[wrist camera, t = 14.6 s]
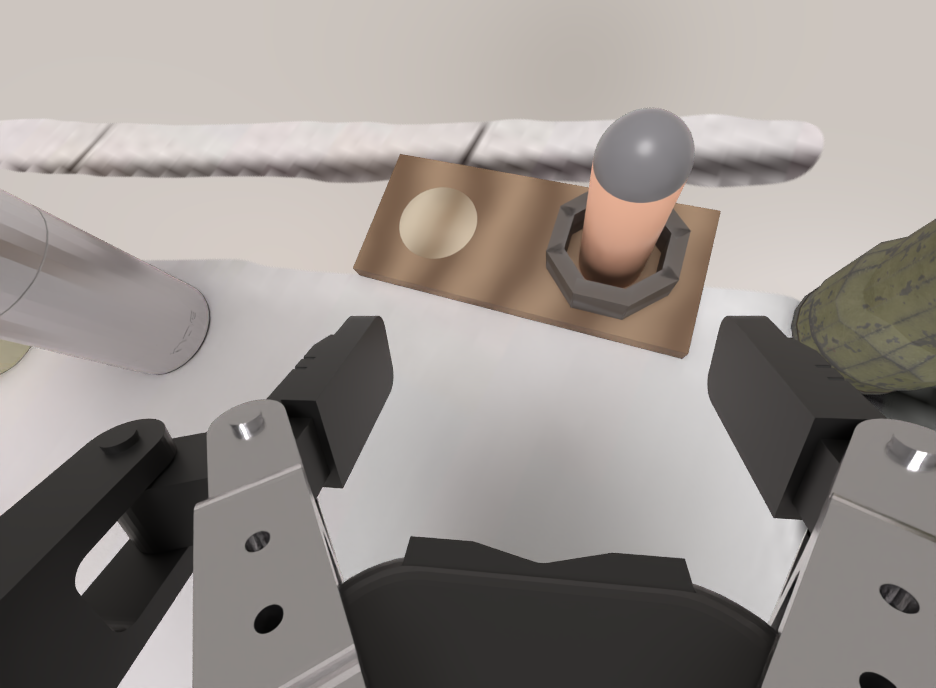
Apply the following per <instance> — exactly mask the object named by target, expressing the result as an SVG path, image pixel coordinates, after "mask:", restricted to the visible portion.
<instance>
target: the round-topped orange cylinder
mask: <svg viewBox="0 0 936 688" xmlns="http://www.w3.org/2000/svg"><path fill="white" fill-rule="evenodd" d="M694 156H695V148H694V141H693V138H692V135H691V132H690V130H689V128H688V127H687V125H686V124H685V123H684V121H683V120H681V119H680V118H679V117H678V116H677V115H675V114H673V113H671V112H669V111H667V110H664V109H659V108H643V109H638V110H634V111H632V112H629V113H627V114H625V115H624V116H622V117H620V118H619V119H617V120H616V121H615V122H614V123H613V124H611V125H610V127H609V128H608V129H607V130H606V131H605V133H604V134H603V135H602V137H601V139H600V140H599V142H598V144H597V147H596V150H595V153H594V158H593V164H592V171H591V178H590V184H589V191H588V198H587V205H586V212H585V218H584V225H583V232H582V239H581V246H580V252H579V268H580V271H581V273H582V275H583V276H584V278H585V279H586V280H589V281H593V282H597V283H602V284H606V285H611V286H615V287H619V288H625V287H627V286H629V285H631V284H632V283H633V282H635V281H636V280H637V279H638V277H639V276H640V275H641V273H642V271H643V269H644V267H645V265H646V263H647V260H648V258H649V256H650V254H651V252H652V250H653V248H654V246H655V244H656V242H657V240H658V238H659V236H660V234H661V232H662V230H663V228H664V226H665V224H666V222H667V220H668V218H669V216H670V214H671V212H672V209H673V207H674V205H675V203H676V201H677V199H678V197H679V195H680V193H681V191H682V189H683V187H684V185H685V183H686V181H687V179H688V177H689V175H690V172H691V170H692V167H693V162H694Z"/></svg>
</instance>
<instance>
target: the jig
mask: <svg viewBox="0 0 936 688" xmlns="http://www.w3.org/2000/svg"><path fill="white" fill-rule="evenodd" d="M588 191H589V188H588V187H582V186H577V185H571V184H566V183H560V182H555V181H549V180H543V179H538V178H532V177H526V176H521V175H515V174H510V173H504V172H498V171H493V170H487V169H481V168H476V167H470V166H465V165H459V164H453V163H448V162H442V161H436V160H431V159H425V158H420V157H414V156H408V155H403V154H400V156H399V158H398V161H397V163H396V165H395V168H394V170H393V173H392V175H391V178H390V180H389V182H388V185H387V187H386V190H385V192H384V195H383V197H382V199H381V202H380V204H379V207H378V209H377V211H376V214H375V216H374V219H373V221H372V223H371V226H370V228H369V231H368V233H367V235H366V238H365V241H364V243H363V245H362V248H361V250H360V252H359V255H358V257H357V260H356V262H355V264H354V267H353V269H354V270H355V271H356V272H357V273H358V274H359V275H361V276H365V277H369V278H373V279H377V280H381V281H384V282H388V283H392V284H396V285H400V286H404V287H408V288H411V289H415V290H419V291H423V292H427V293H431V294H435V295H438V296H442V297H446V298H450V299H454V300H458V301H462V302H465V303H469V304H473V305H477V306H481V307H485V308H489V309H492V310H496V311H500V312H504V313H508V314H512V315H516V316H519V317H523V318H527V319H531V320H535V321H539V322H543V323H546V324H550V325H554V326H558V327H562V328H566V329H570V330H573V331H577V332H581V333H585V334H589V335H593V336H597V337H600V338H604V339H608V340H612V341H616V342H620V343H624V344H627V345H631V346H635V347H639V348H643V349H647V350H651V351H654V352H658V353H662V354H666V355H670V356H674V357H678V358H681V359H682V358H683V357H685V356H686V355H687V354H688V352H689V348H690V343H691V339H692V335H693V330H694V326H695V322H696V317H697V313H698V308H699V304H700V300H701V295H702V291H703V286H704V282H705V278H706V273H707V269H708V265H709V260H710V256H711V251H712V247H713V242H714V238H715V234H716V229H717V225H718V221H719V216H720V211H718V210H712V209H706V208H701V207H694V206H690V205H684V204H678V203H675V205H674V207H673V209H672V212H671V214H670V216H669V218H668V220H667V222H666V224H665V226H664V228H663V230H662V232H661V234H660V236H659V238H658V240H657V242H656V244H655V246H654V248H653V250H652V252H651V254H650V256H649V258H648V260H647V263H646V265H645V267H644V269H643V271H642V273H641V275H640V276H639V277H638V279H637V280H636V281H635V282H633V283H632V284H631V285H629V286H627V287H625V288H619V287H615V286H611V285H606V284H602V283H597V282H593V281H589V280H586V279H585V278H584V276H583V275H582V273H581V271H580V268H579V252H580V246H581V239H582V232H583V225H584V218H585V212H586V205H587V198H588Z"/></svg>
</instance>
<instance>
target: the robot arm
mask: <svg viewBox="0 0 936 688" xmlns="http://www.w3.org/2000/svg"><path fill="white" fill-rule="evenodd" d="M208 323H209V310H208V306H207V302H206V301H205V299H204V297H203V295H202V294H201V293H200V292H199V291H198V290H197V289H196V288H194V287H192V286H191V285H189V284H187V283H185V282H183V281H181V280H179V279H177V278H175V277H173V276H171V275H169V274H167V273H165V272H163V271H161V270H159V269H158V268H156V267H154V266H152V265H150V264H148V263H146V262H144V261H142V260H140V259H138V258H136V257H134V256H132V255H130V254H128V253H126V252H124V251H122V250H120V249H118V248H116V247H114V246H112V245H110V244H108V243H107V242H104V241H103V240H101V239H99V238H97V237H95V236H93V235H91V234H89V233H87V232H85V231H83V230H81V229H79V228H77V227H75V226H73V225H71V224H69V223H67V222H65V221H63V220H61V219H59V218H57V217H55V216H53V215H52V214H50V213H48V212H46V211H44V210H41V209H40V208H38V207H36V206H34V205H31V204H29V203H27V202H25V201H23V200H21V199H20V198H18V197H16V196H14V195H12V194H10V193H8V192H6V191H4V190H2V189H0V339H2V340H6V341H10V342H15V343H19V344H23V345H27V346H32V347H36V348H40V349H44V350H49V351H53V352H57V353H61V354H66V355H70V356H74V357H78V358H83V359H87V360H91V361H95V362H100V363H104V364H107V365H112V366H116V367H120V368H124V369H129V370H133V371H137V372H142V373H146V374H154V375H157V374H164V373H167V372H170V371H173V370H175V369H177V368H178V367H180V366H182V365H183V364H184V363H186V362H187V361H188V360H189V359H190V358H191V357H192V356H193V355H194V354H195V353H196V351H197V350H198V349H199V347H200V345H201V344H202V342H203V340H204V337H205V335H206V332H207V329H208ZM707 384H708V394H709V398H710V401H711V403H712V405H713V406H714V408H715V410H716V412H717V414H718V416H719V418H720V419H721V421H722V423H723V425H724V427H725V429H726V431H727V432H728V434H729V436H730V438H731V440H732V442H733V444H734V445H735V447H736V449H737V451H738V453H739V455H740V456H741V458H742V460H743V462H744V464H745V466H746V468H747V469H748V471H749V473H750V475H751V477H752V479H753V481H754V482H755V484H756V486H757V488H758V490H759V492H760V494H761V495H762V497H763V499H764V501H765V503H766V505H767V507H768V508H769V510H770V512H771V514H772V516H773V518H781V519H797V520H803V521H804V523H805V525H806V526H807V530H806V532H805V534H804V537H803V539H802V541H801V543H800V546H799V548H798V551H797V553H796V556H795V558H794V561H793V563H792V565H791V568H790V570H789V573H788V575H787V578H786V580H785V583H784V585H783V588H782V590H781V593H780V595H779V598H778V600H777V603H776V605H775V607H774V610H773V612H772V615H771V617H770V619H769V622H768V624H767V623H766V622H765V621H763V620H762V619H761V618H759V617H758V616H756V615H755V614H753V613H752V612H750V611H749V610H747V609H745V608H744V607H742V606H741V605H739V604H737V603H735V602H733V601H732V600H730V599H728V598H726V597H724V596H722V595H720V594H718V593H716V592H713V591H711V590H709V589H706V588H704V587H701V586H698V585H695V584H692V581H691V578H690V574H689V571H688V568H687V565H686V561H685V559H682V558H670V557H658V556H646V555H633V554H621V553H608V554H601V555H595V556H589V557H582V558H576V559H570V560H564V561H557V562H551V563H537V562H533V561H530V560H527V559H524V558H521V557H518V556H515V555H512V554H509V553H506V552H503V551H500V550H497V549H494V548H491V547H488V546H485V545H482V544H479V543H476V542H473V541H462V540H450V539H437V538H425V537H413V536H411V537H410V540H409V544H408V547H407V550H406V554H405V557H404V558H399V559H394V560H391V561H387V562H384V563H381V564H378V565H376V566H373V567H371V568H368V569H366V570H364V571H362V572H360V573H359V574H357V575H355V576H353V577H351V578H350V579H348V580H347V581H345V582H344V580H343V577H342V574H341V571H340V567H339V564H338V561H337V558H336V555H335V552H334V549H333V545H332V542H331V539H330V536H329V533H328V530H327V527H326V523H325V520H324V517H323V514H322V511H321V508H320V505H319V502H318V499H317V496H318V495H319V493H320V491H321V489H322V487H331V488H343V487H344V485H345V483H346V481H347V479H348V477H349V475H350V473H351V471H352V469H353V467H354V465H355V463H356V461H357V459H358V457H359V455H360V453H361V451H362V449H363V447H364V445H365V443H366V441H367V439H368V437H369V435H370V433H371V431H372V428H373V426H374V424H375V422H376V420H377V418H378V416H379V414H380V412H381V410H382V408H383V406H384V404H385V402H386V400H387V398H388V396H389V394H390V392H391V389H392V385H393V366H392V361H391V356H390V351H389V345H388V340H387V335H386V330H385V325H384V322H383V319H382V318H381V317H380V316H350V317H349V318H348V319H347V320H346V321H345V323H344V324H343V325H342V326H341V327H340V329H339V330H338V331H337V332H336V333H335V335H330V336H328V337H326V338H325V339H323V340H321V341H320V342H318V343H317V344H315V345H314V346H313V347H312V348H311V349H310V350H309V351H308V353H307V354H306V355H305V356H304V359H301V360H300V362H299V363H298V364H297V365H296V366H295V369H293V370H292V371H291V372H290V373H289V374H288V375H287V376H286V378H285V379H284V380H283V381H282V382H281V383H280V384H279V385H278V387H277V388H276V389H275V390H274V391H273V392H272V393H271V395H270V396H269V397H268V398H267V399H266V400H255V401H250V402H246V403H243V404H241V405H238V406H236V407H233V408H231V409H230V410H228V411H226V412H225V413H223V414H222V415H220V416H219V417H218V418H217V419H216V420H215V421H214V422H213V423H212V424H211V425H210V427H209V429H208V431H207V432H206V433H200V434H195V435H189V436H184V437H178V438H173V439H172V438H171V436H170V434H169V432H168V430H167V428H166V427H165V425H164V423H163V422H161V421H159V420H156V419H140V420H135V421H131V422H127V423H124V424H121V425H119V426H116V427H114V428H112V429H110V430H107V431H106V432H104V433H102V434H100V435H99V436H97V437H96V438H94V439H93V440H91V441H90V442H89V443H87V444H86V445H85V446H84V447H83V448H81V449H80V450H79V451H78V452H77V453H75V454H74V455H73V456H72V457H71V458H70V459H68V460H67V461H66V462H65V463H64V464H62V465H61V466H60V467H59V468H58V469H56V470H55V471H54V472H53V473H52V474H50V475H49V476H48V477H47V478H46V479H44V480H43V481H42V482H41V483H40V484H38V485H37V486H36V487H35V488H34V489H33V490H31V491H30V492H29V493H28V494H27V495H25V496H24V497H23V498H22V499H21V500H19V501H18V502H17V503H16V504H15V505H13V506H12V507H11V508H10V509H9V510H7V511H6V512H5V513H4V514H3V515H1V516H0V688H117V687H118V685H119V684H120V682H121V681H122V679H123V678H124V676H125V674H126V673H127V671H128V670H129V668H130V667H131V665H132V664H133V662H134V661H135V659H136V658H137V656H138V655H139V653H140V652H141V650H142V649H143V647H144V646H145V644H146V643H147V641H148V639H149V638H150V636H151V635H152V633H153V632H154V630H155V629H156V627H157V626H158V624H159V623H160V621H161V620H162V618H163V617H164V615H165V614H166V612H167V611H168V609H169V608H170V606H171V604H172V603H173V601H174V600H175V598H176V597H177V595H178V594H179V592H180V591H181V589H182V588H183V586H184V585H185V583H186V582H187V580H188V579H189V577H190V576H191V574H192V573H193V686H192V688H936V431H933V430H931V429H928V428H926V427H923V426H920V425H916V424H913V423H909V422H905V421H900V420H893V419H887V418H886V417H885V416H884V415H883V414H882V413H881V412H880V411H879V410H878V409H877V408H876V407H874V406H873V405H872V404H871V403H870V402H869V401H868V400H867V399H866V398H865V397H864V396H863V395H862V394H861V393H860V392H859V391H858V390H857V389H856V388H855V387H854V386H853V385H852V384H850V383H849V382H848V381H844V377H843V376H842V375H841V374H840V373H839V372H838V371H837V370H836V369H835V368H831V364H830V363H829V362H827V361H826V360H825V359H824V358H823V357H822V356H821V355H820V354H819V353H818V352H817V351H816V350H814V349H812V348H810V347H809V346H807V345H805V344H803V343H801V342H799V341H797V340H795V339H793V338H787V337H786V336H785V335H784V334H783V332H782V331H781V330H780V329H779V328H778V327H777V326H776V325H775V324H774V323H773V322H772V321H771V320H770V319H769V318H768V317H766V316H726V317H725V318H724V319H723V320H722V322H721V325H720V328H719V332H718V336H717V340H716V344H715V349H714V353H713V357H712V361H711V365H710V369H709V374H708V383H707ZM117 521H118V522H119V524H120V525H121V527H122V528H123V529H124V531H125V532H126V534H127V535H128V536H129V538H130V539H129V540H128V541H127V543H126V544H125V545H124V546H123V547H122V549H121V550H120V551H119V552H118V553H117V554H116V556H115V557H114V558H113V559H112V560H111V562H110V563H109V564H108V565H107V566H106V567H105V569H104V570H103V571H102V572H101V573H100V575H99V576H98V577H97V578H96V579H95V580H94V582H93V583H92V584H91V585H90V586H89V588H88V589H87V590H86V591H85V592H84V593H83V595H82V596H81V595H80V594H79V593H78V591H77V590H76V587H75V576H76V572H77V569H78V567H79V565H80V563H81V561H82V560H83V558H84V557H85V556H86V555H87V554H88V553H89V551H90V550H91V549H92V548H93V547H94V546H95V545H96V544H97V543H98V542H99V540H100V539H101V538H102V537H103V536H104V535H105V534H106V533H107V532H108V531H109V529H110V528H111V527H112V526H113V525H114V524H115V523H116V522H117Z"/></svg>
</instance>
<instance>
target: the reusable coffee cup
mask: <svg viewBox="0 0 936 688" xmlns="http://www.w3.org/2000/svg"><path fill="white" fill-rule="evenodd" d="M29 348H30V346H27V345H23V344H19V343H15V342H10V341H6V340H2V339H0V374H1V373H3V372H5V371H7V370H9V369H10V368H12V367H13V366H14V365H16V364H17V363H18V362H19V361H20V360H21V359H22V358H23V356H24V355H25V354H26V352H27V351H28V350H29Z"/></svg>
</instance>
